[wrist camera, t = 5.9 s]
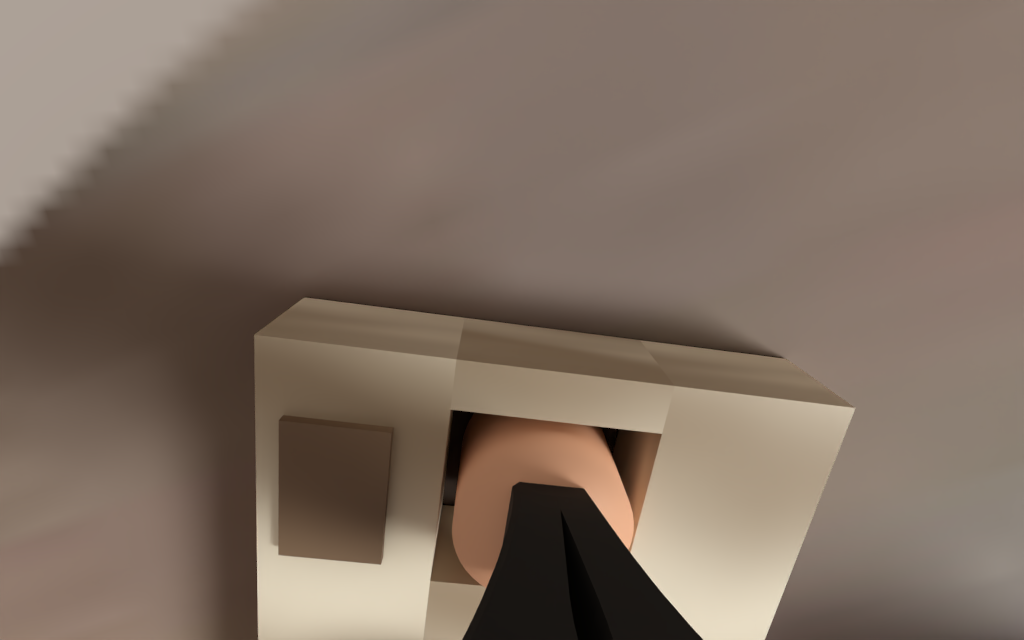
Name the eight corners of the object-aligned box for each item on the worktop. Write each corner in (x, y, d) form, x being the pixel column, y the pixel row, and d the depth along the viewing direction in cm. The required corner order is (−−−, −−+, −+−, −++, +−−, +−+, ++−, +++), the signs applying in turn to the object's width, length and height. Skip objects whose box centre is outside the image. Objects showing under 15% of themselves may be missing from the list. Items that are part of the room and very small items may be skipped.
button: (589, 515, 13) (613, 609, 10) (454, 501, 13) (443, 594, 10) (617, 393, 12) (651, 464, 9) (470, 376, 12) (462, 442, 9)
